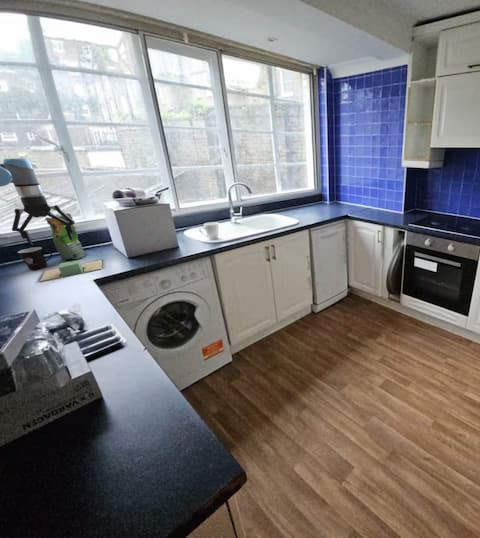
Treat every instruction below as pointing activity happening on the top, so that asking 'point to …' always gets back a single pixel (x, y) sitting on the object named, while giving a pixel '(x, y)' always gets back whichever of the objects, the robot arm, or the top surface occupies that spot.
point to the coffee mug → (34, 258)
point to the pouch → (65, 239)
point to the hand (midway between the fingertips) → (52, 242)
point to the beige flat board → (57, 274)
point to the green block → (70, 268)
